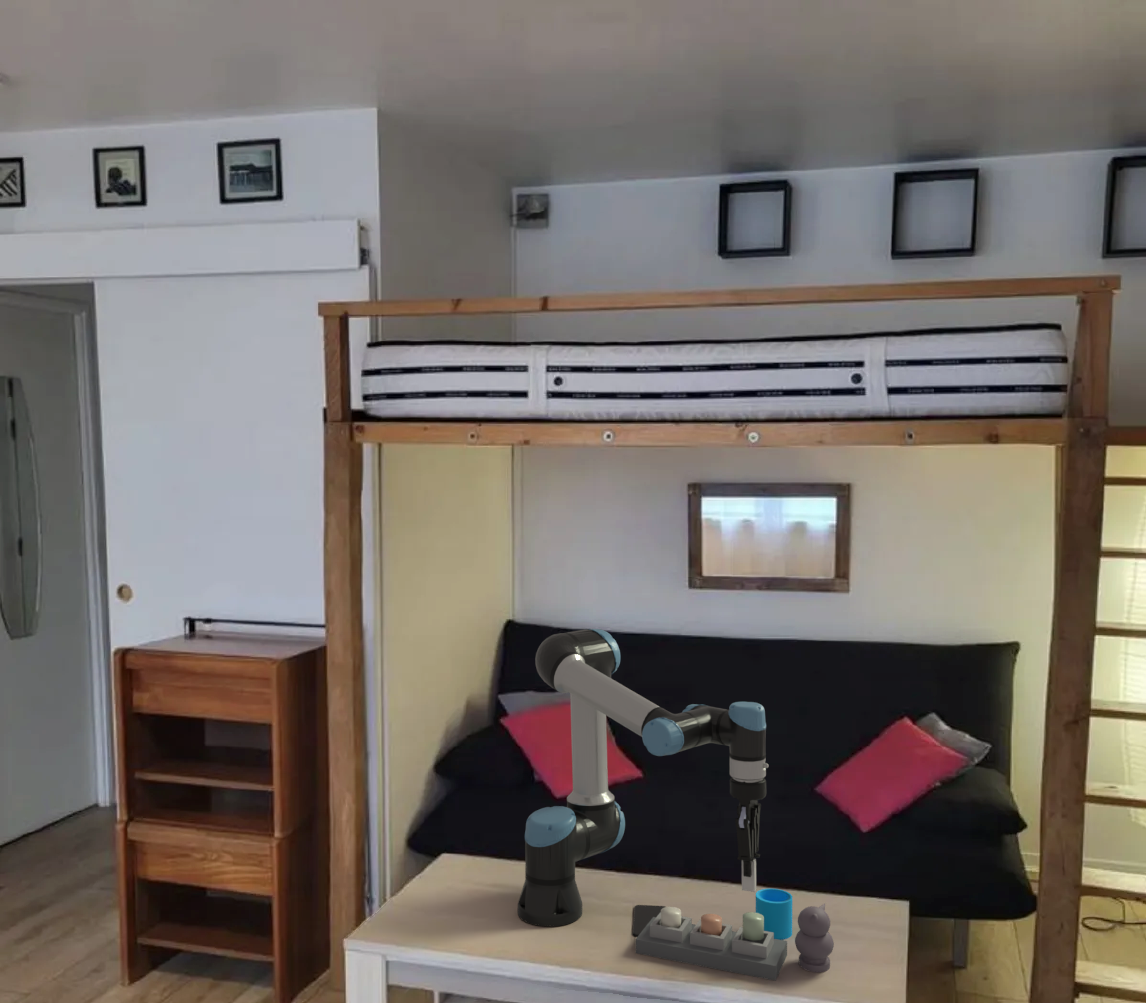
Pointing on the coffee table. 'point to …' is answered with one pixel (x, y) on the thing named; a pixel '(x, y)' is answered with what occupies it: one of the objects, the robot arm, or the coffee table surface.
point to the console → (713, 948)
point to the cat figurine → (814, 939)
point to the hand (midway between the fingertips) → (749, 889)
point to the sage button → (753, 926)
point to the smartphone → (644, 917)
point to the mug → (775, 911)
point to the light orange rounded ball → (711, 924)
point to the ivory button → (671, 917)
